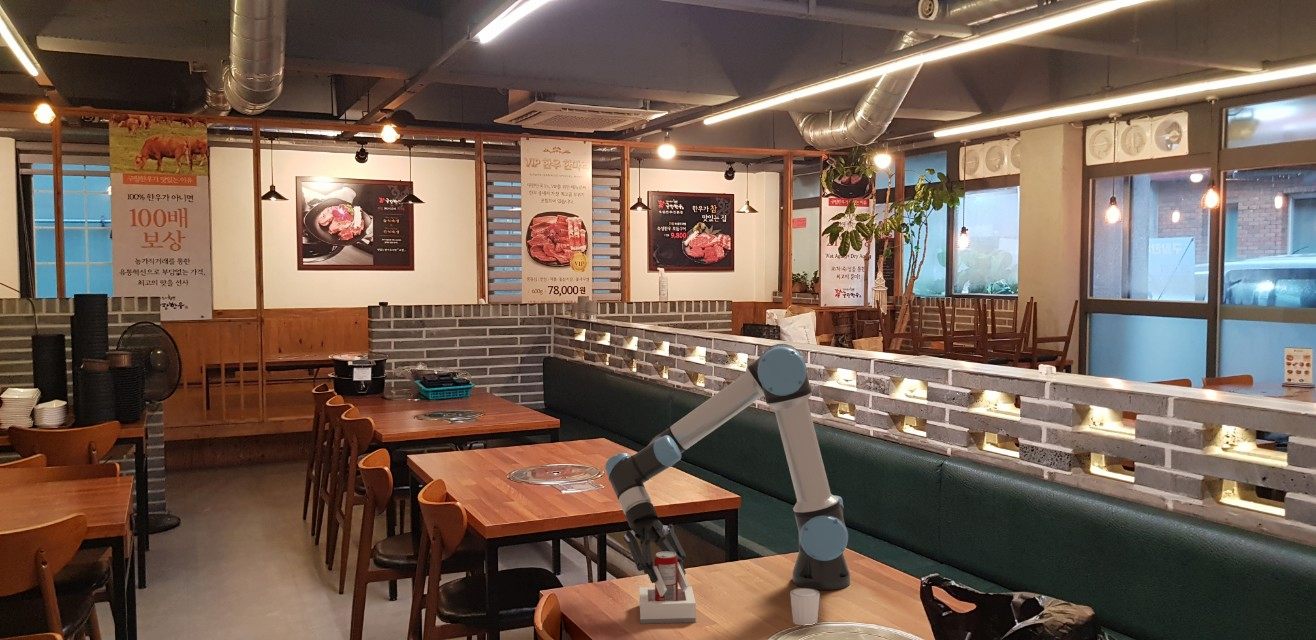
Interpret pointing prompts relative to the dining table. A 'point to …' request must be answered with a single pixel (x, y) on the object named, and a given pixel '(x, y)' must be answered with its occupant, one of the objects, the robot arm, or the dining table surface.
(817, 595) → the shot glass
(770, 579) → the dining table surface
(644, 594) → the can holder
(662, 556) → the soda can
